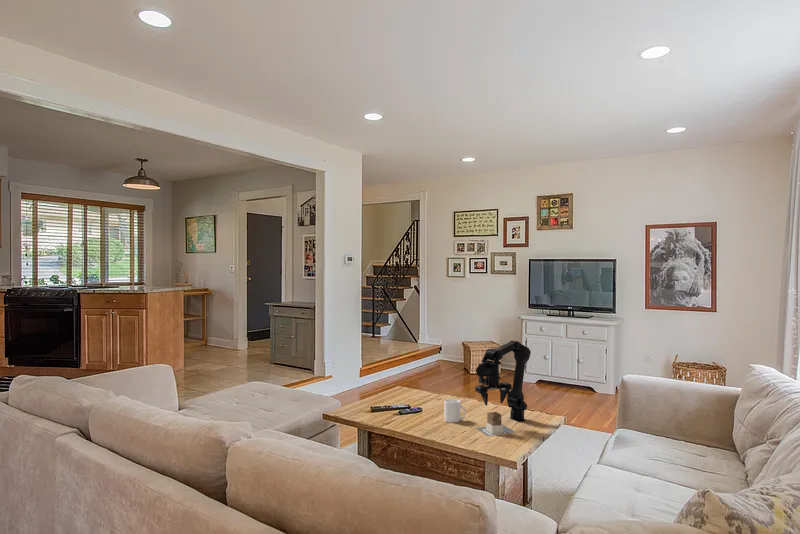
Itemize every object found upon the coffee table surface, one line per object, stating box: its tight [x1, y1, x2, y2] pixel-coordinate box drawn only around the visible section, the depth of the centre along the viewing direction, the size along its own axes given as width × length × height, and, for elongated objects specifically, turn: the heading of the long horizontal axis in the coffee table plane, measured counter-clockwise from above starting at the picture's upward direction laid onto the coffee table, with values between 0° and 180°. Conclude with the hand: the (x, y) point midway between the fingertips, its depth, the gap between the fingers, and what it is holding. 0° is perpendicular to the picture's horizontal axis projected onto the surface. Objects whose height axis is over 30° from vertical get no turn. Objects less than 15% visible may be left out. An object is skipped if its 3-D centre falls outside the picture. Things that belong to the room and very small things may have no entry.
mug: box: [443, 398, 467, 424], centre depth 253 cm, size 9×12×11 cm
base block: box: [485, 422, 504, 435], centre depth 235 cm, size 6×6×4 cm
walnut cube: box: [486, 411, 502, 426], centre depth 235 cm, size 5×5×5 cm
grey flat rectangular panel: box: [475, 424, 516, 437], centre depth 237 cm, size 16×12×1 cm
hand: (493, 404), depth 243 cm, fingers open, 9 cm apart
